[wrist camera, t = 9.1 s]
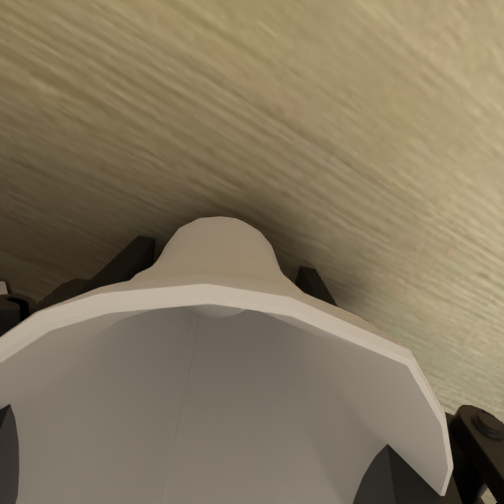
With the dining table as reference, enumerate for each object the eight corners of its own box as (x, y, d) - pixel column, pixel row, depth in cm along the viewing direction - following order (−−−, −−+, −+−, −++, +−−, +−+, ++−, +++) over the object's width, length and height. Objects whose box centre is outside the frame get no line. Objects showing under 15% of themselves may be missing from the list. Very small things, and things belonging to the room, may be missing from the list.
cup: (99, 302, 14) (-165, 601, 5) (194, 136, 12) (20, 119, 2) (246, 376, 16) (253, 687, 7) (355, 249, 14) (591, 474, 5)
